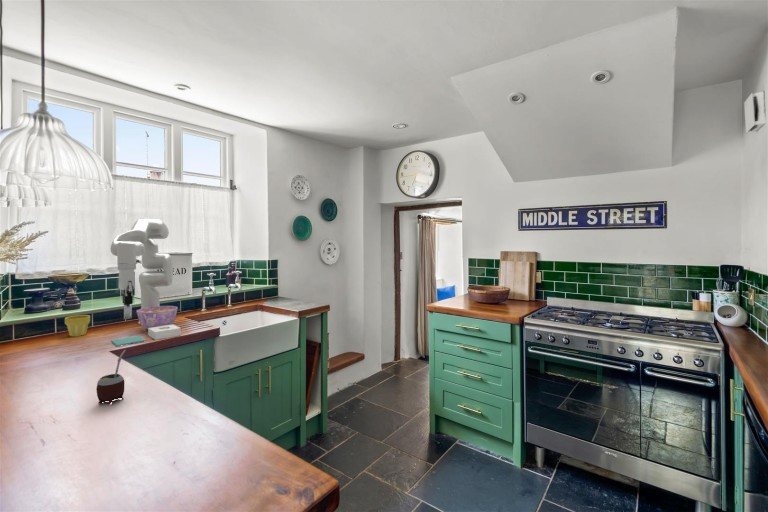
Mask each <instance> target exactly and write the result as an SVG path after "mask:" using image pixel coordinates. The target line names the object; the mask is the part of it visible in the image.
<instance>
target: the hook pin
mask: <svg viewBox="0 0 768 512" xmlns="http://www.w3.org/2000/svg"><path fill="white" fill-rule="evenodd" d="M132 307H133V303H132V304H125V293H124V303H123V319H124V320H132V318H133V308H132Z"/></svg>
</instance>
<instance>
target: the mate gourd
mask: <svg viewBox="0 0 768 512" xmlns="http://www.w3.org/2000/svg"><path fill="white" fill-rule="evenodd" d="M126 351H127V349H124V350H123V351H122V352H121V354H120V355H119V357H118V358H117V365H116V368H115V373H111V374H106V375H104V376H101V377H100V378H99V379H98V381H97V384H96V387H95V388H96V396H97V399H98V404H99V403H102V402H105V401H109V402H110V403H111V402H112V400H114V399H118V398H124V394H125V379H124V377H123V375H121V374H120V373H118V372H119V367H120V364H121V361H122V357H123V355H124V354H125V352H126Z"/></svg>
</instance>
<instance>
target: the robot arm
mask: <svg viewBox="0 0 768 512" xmlns="http://www.w3.org/2000/svg"><path fill="white" fill-rule="evenodd" d="M169 234H170V232H169V228H168V226H167V224H165V223H164V221H163V220H161V219H157V218H154V219H153V218H140V219H136V221H135V222H134V223H133V225H132V227H131V229H130V230H128V231H126V232H124V233H121V234H118V235H117V236H115V237H114V239H113V240H112V242H111V243H110V252H111V254H112V255H113V256H116V257H117V271H118V289H119V290H122V304H124V293H125V304H132V305H133V302H134V301H133V300H134V299H133V290H134V289H135V287H136V281H135V280H136V279H135V270H137V257H140V256H141V265H142V268H144V269H147V270H146V271H143V272H140V274H139V275H138V283H139V288H140V309H142V308H147V307H155V306H161V305H160V304H161V303H160V292H159V291H158V289H157V288H156V287H169V286H171V285H172V284H173V258H172V256H171V254H169V253H159V245H158V243H157V241H155V240H166V239H167V238H168V237H169ZM148 270H150V271H148ZM158 270H159V271H158ZM138 325H141V324H140V321H139V320H138Z"/></svg>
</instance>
